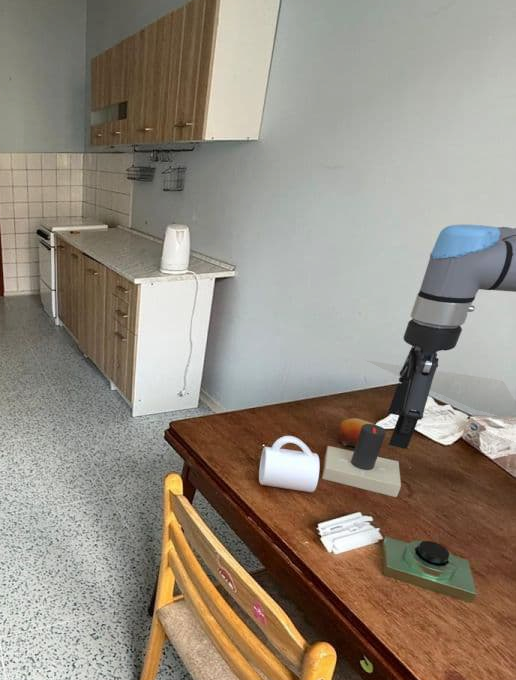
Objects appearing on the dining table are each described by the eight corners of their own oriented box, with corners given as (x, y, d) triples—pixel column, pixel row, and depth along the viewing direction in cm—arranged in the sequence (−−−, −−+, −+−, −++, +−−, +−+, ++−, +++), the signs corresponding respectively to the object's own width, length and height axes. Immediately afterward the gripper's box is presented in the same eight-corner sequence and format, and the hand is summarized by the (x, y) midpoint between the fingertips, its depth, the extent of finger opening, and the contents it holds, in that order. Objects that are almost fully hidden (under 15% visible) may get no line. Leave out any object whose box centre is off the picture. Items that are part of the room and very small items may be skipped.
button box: (463, 569, 81) (472, 552, 79) (471, 603, 75) (481, 586, 73) (382, 545, 86) (388, 528, 84) (383, 575, 80) (390, 558, 78)
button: (443, 553, 79) (447, 545, 78) (447, 569, 76) (451, 561, 75) (415, 545, 81) (418, 537, 80) (417, 560, 78) (421, 553, 77)
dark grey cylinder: (350, 456, 106) (362, 420, 101) (373, 461, 104) (386, 425, 100) (350, 466, 102) (362, 430, 98) (374, 472, 101) (387, 435, 96)
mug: (312, 500, 98) (326, 452, 92) (259, 492, 100) (270, 444, 95) (307, 477, 104) (320, 431, 99) (258, 470, 107) (267, 424, 102)
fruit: (333, 445, 113) (343, 413, 113) (334, 446, 120) (343, 416, 119) (372, 455, 109) (383, 422, 109) (370, 456, 116) (380, 425, 115)
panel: (394, 472, 105) (398, 460, 104) (396, 497, 98) (401, 485, 96) (324, 456, 112) (328, 445, 110) (321, 478, 104) (325, 467, 102)
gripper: (474, 349, 69) (425, 468, 79) (454, 306, 88) (416, 406, 98) (413, 341, 72) (373, 455, 83) (406, 301, 91) (374, 398, 101)
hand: (396, 429), depth 90 cm, fingers open, 13 cm apart
